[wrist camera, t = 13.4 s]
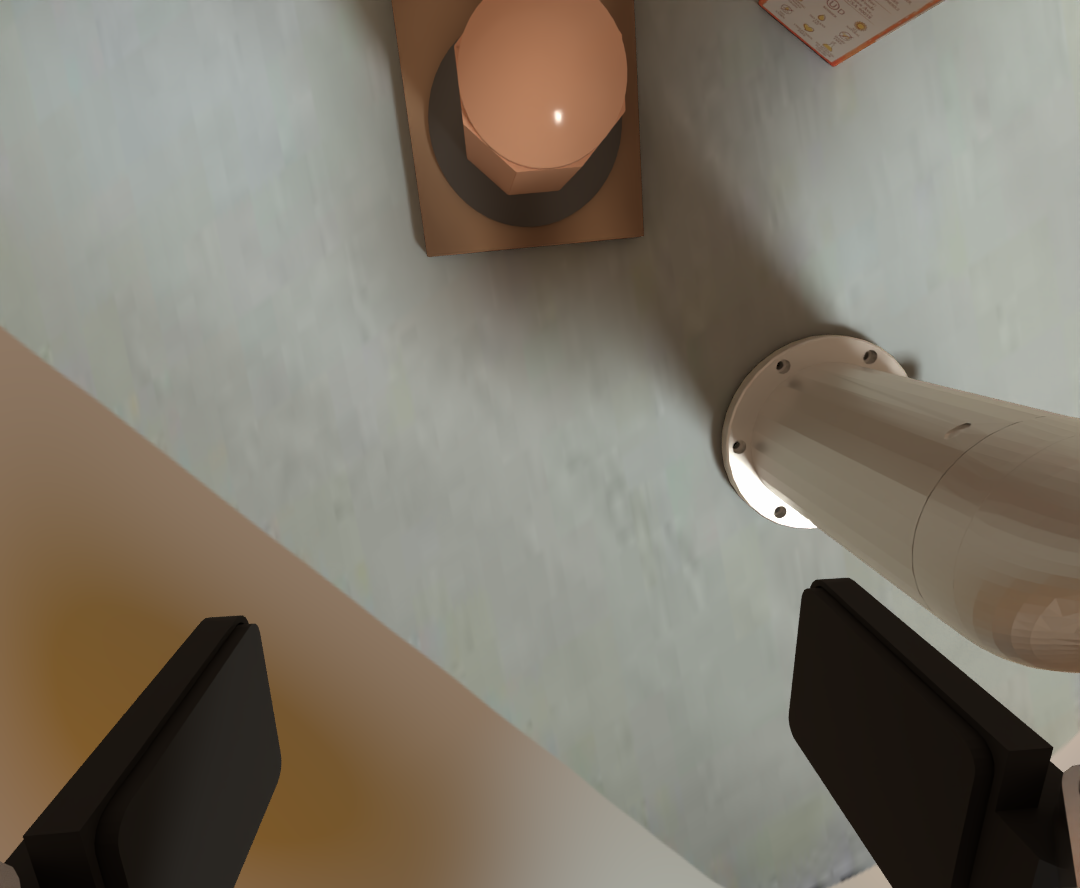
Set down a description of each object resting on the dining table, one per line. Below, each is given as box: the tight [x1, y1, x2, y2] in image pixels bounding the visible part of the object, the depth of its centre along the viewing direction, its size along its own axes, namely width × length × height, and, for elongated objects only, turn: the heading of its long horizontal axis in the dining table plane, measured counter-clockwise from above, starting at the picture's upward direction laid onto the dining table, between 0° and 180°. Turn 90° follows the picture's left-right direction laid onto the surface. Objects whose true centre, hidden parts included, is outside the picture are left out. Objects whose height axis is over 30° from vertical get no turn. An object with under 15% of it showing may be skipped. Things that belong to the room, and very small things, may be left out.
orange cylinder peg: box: [454, 0, 627, 195], centre depth 27 cm, size 7×7×8 cm
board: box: [391, 0, 644, 257], centre depth 30 cm, size 12×22×2 cm, turn 6°
